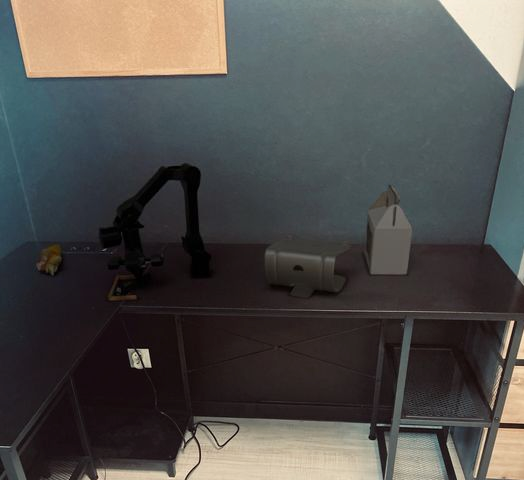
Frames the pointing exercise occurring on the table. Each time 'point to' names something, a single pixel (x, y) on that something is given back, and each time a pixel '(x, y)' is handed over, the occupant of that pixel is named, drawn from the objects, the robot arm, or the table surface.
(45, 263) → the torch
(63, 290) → the table surface
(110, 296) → the dock
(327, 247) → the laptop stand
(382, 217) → the gable box
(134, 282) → the electric trimmer
